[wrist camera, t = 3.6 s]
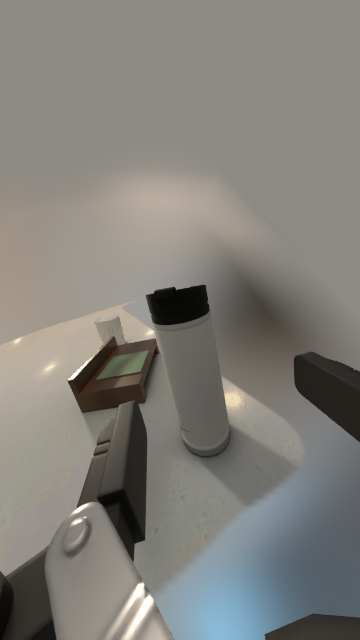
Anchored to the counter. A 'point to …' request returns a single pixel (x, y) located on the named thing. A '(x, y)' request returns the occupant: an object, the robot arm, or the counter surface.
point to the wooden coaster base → (113, 375)
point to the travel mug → (191, 366)
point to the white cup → (110, 328)
